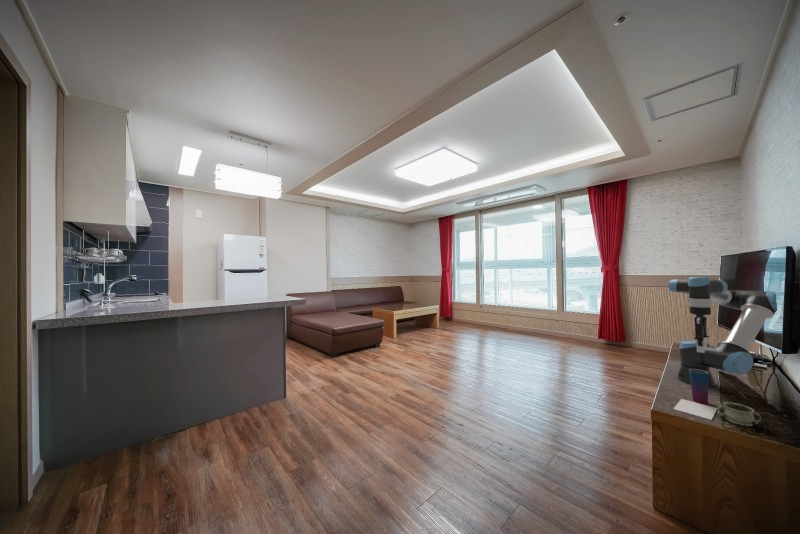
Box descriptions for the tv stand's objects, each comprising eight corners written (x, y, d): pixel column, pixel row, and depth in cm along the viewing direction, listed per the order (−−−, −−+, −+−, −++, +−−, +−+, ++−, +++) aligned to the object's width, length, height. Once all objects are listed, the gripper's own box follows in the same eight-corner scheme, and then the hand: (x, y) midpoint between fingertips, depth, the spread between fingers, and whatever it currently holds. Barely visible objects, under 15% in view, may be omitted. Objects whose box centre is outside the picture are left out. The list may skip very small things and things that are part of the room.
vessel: (720, 421, 120) (719, 406, 120) (716, 412, 126) (715, 399, 126) (765, 431, 112) (764, 415, 112) (758, 421, 118) (757, 406, 118)
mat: (681, 399, 139) (681, 398, 139) (717, 408, 129) (717, 408, 129) (673, 409, 130) (673, 408, 130) (711, 420, 120) (711, 419, 120)
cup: (689, 397, 141) (687, 367, 142) (708, 400, 137) (707, 370, 137) (691, 402, 136) (690, 371, 136) (712, 406, 132) (710, 374, 132)
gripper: (693, 304, 152) (695, 346, 152) (685, 307, 141) (687, 353, 141) (713, 305, 146) (715, 349, 146) (707, 309, 135) (709, 356, 135)
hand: (702, 350), depth 143 cm, fingers open, 6 cm apart
